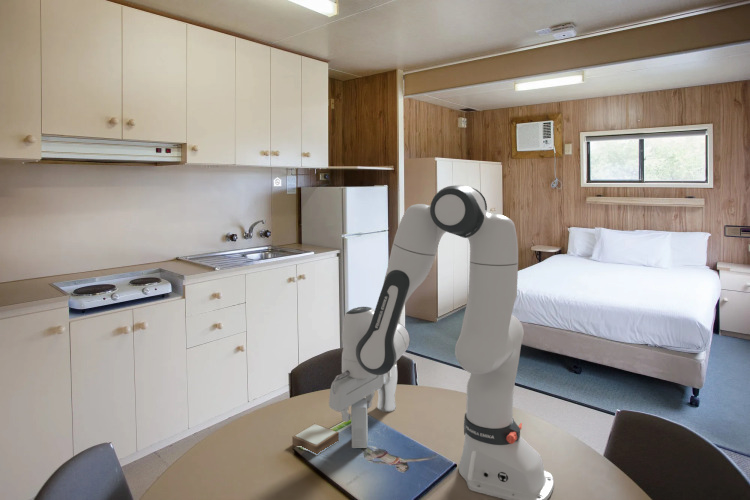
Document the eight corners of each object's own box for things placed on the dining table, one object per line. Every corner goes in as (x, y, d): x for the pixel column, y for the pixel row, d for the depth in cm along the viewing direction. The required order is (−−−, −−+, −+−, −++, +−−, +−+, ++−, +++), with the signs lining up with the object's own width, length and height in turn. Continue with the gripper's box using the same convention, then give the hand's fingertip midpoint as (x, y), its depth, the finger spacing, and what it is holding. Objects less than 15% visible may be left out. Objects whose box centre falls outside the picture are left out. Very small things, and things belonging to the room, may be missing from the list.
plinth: (338, 442, 131) (338, 431, 131) (316, 457, 124) (316, 446, 124) (315, 432, 136) (314, 422, 136) (292, 446, 129) (292, 435, 129)
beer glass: (397, 403, 154) (398, 359, 152) (396, 413, 147) (396, 367, 145) (376, 402, 155) (376, 358, 153) (374, 412, 148) (374, 366, 146)
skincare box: (352, 437, 133) (352, 397, 132) (367, 437, 133) (367, 397, 131) (351, 449, 127) (350, 407, 125) (366, 449, 127) (366, 407, 125)
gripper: (342, 381, 117) (341, 433, 119) (388, 357, 133) (387, 403, 135) (323, 374, 121) (323, 425, 123) (370, 352, 137) (369, 397, 139)
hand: (357, 413), depth 129 cm, fingers open, 8 cm apart
